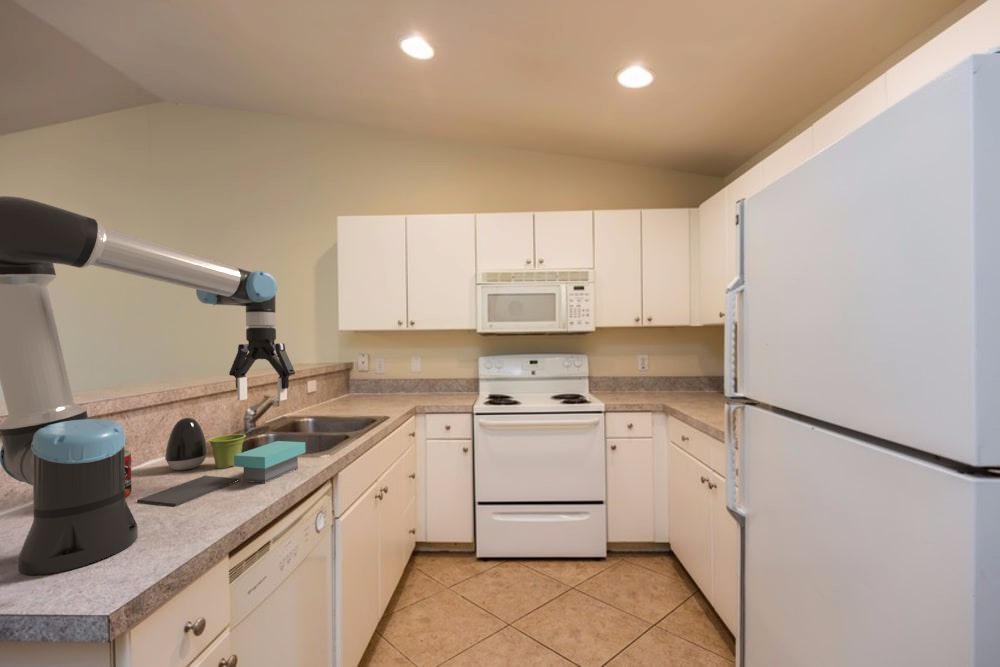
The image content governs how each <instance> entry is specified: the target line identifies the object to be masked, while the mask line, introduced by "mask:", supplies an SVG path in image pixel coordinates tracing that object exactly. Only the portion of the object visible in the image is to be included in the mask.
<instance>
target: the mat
mask: <svg viewBox="0 0 1000 667" xmlns="http://www.w3.org/2000/svg"><path fill="white" fill-rule="evenodd" d="M237 480H239V481H240V478H239V477H229V476H228V477H225V476H214V475H213V476H212V475H203V476H201V477H197V478H195V479H192V480H188V481H186V482H183V483H179V484H178V485H175V486H172V487H169V488H167V489H163V490H161V491H158V492H155V493H152V494H149V495H147V496H144V497H141V498H138V499H136V501H137V503H139V502H141V503H142V504H149V503H150V504H149V505H159V504H161V506H168V507H169V506H170V507H177V506H180V505H182V504H185V503H188V502H190V501H193V500H194V499H198V498H201V497H202V496H206V495H207V494H210V493H213V492H215V491H217V490H220V489H222V488H224V487H223V486H225V485H227V486H229V485H228V484H230V483H232V484H234V483H233V482H235V481H237ZM237 482H238V481H237ZM235 483H236V482H235ZM230 485H231V484H230ZM221 487H222V488H221ZM225 487H226V486H225ZM219 488H220V489H219ZM214 490H215V491H214Z"/></svg>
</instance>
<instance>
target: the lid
mask: <svg viewBox="0 0 1000 667" xmlns="http://www.w3.org/2000/svg"><path fill="white" fill-rule="evenodd" d="M305 453H306V442H305V441H288V440H287V441H286V440H285V441H282V440H276V441H274V442H270V443H267V444H263V445H261V446H258V447H256V448H252V449H249V450H247V451H244V452H243V451H242V452H241V453H240V454H237V455H234V466H233V467H235V468H237V467H239V468H244V467H249V468H264V469H265V468H268V467H270V466H273V465H275V464H278V463H280V462H283V461H285V460H288V459H290V458H293V457H295V456H298V457H299V456H300V455H302V454H305Z"/></svg>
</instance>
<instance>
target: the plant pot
mask: <svg viewBox="0 0 1000 667" xmlns="http://www.w3.org/2000/svg"><path fill="white" fill-rule="evenodd" d="M246 437H247V436H246V434H242V433H238V434H237V433H233V434H225V435H219V436H213V437H211V438H209V439H208V442H209V443H210V446H211V447H212V453H213V454H212V455H213V457H214V464H215V468H217V469H225V468H224V467H228V468H230V467H234V455H237V454H240V453H242V450H243V444H244V441H245V438H246Z"/></svg>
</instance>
